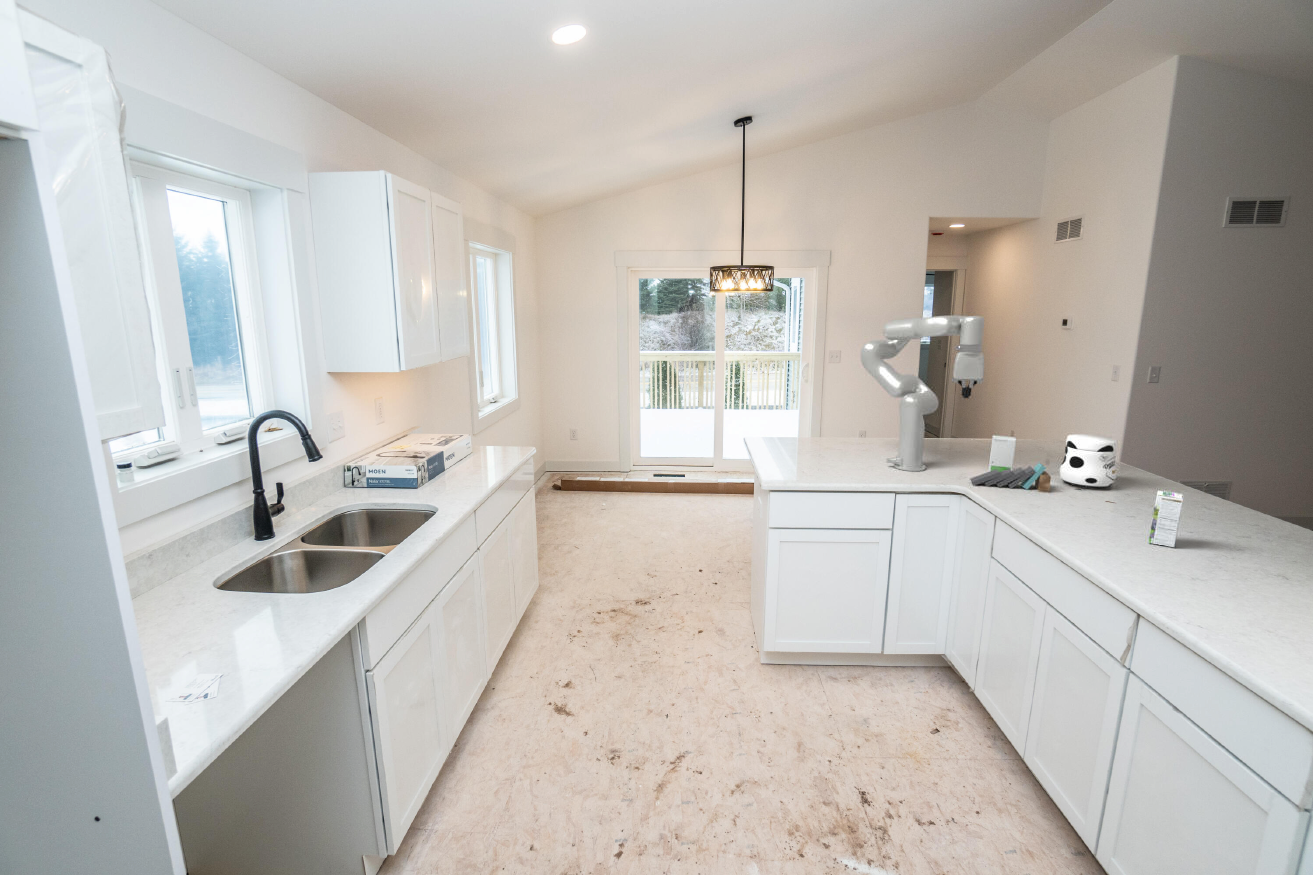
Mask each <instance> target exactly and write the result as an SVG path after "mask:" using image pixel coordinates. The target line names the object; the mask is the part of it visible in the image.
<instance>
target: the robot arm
mask: <svg viewBox="0 0 1313 875" xmlns="http://www.w3.org/2000/svg"><path fill="white" fill-rule="evenodd" d="M984 326H985V317H984V316H980V315H965V316H964V315H960V314H959V315H939V316H938V315H937V316H929V317H928V316H927V317H912V318H902V319H895V320H894V319H893V320H889V321H887V323H885V325H883V328H882V335H883V337H885V339H875V340H870V341H868V342H866V343H864V344H863V345H862V348H861V350H860V362H861V364H862V366H863V367H864V369H865V370H866V372H867V373H868V374H870V375H871V376H872V377H873V378H874V380H876V382H878V384H879V385H880V386H881V387H882V388H883V389H884V390H885V392H887V393H888V395H889V396H891V397H892V398H895V399H899V398H901V399H900V400H899V403H898V410H899V412H898V413H899V436H898V439H899V440H898V450H897V451H898V453H897V455H895V457H893V458H892V457H891V458H890V457H887V458H886V459H885V463H886V464H890V463H891V464H893V468H895V469H897V470H900V471H906V472H907V471H908V472H922V471H925V470H926V468H927V466H926V465H925V464H923V456H924V454H923V453H924V443H925V430H926V428H925V424H926V423H925V420H924V415H930V414H932V413H934V412H935V411H936V410H938V407H939V399H938V397H937V395H936V393H935V392H933V391H932V390H931V388H930V387H928V386H927V385H926V383H925V382H924V381H923V380H922V379H920V377H918V376H916V375H913V374H911V373H910V374H901V373H899V371H897V370H896V369H895V368H894V366H892V365H891V364H890V363H888V362H886V361H885V360H891V359H893V358H895V357H896V356H898V355H899V353H900V352H902V350H903V349H904V348H905V347H906V346H907V345H908V344H909V342H910V341H911V340H921V339H923V338H929V337H931V338H932V337H947V336H960V337H959V344H958V345H955V346H954V350H955V351H958V352H957V353H956V355H955V359H954V363H953V371H952V379H951V382H953V383H955V384H959V386H960V387H961V397H963V399H969V398H970V397H971V396H972V388H973V387H974V386H976V385H977V384H982V383H984V374H985V354H984V353H982V349H983V336H984ZM966 381H968V385H966Z"/></svg>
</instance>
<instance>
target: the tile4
mask: <svg viewBox="0 0 1313 875" xmlns="http://www.w3.org/2000/svg"><path fill="white" fill-rule="evenodd" d="M1033 469H1034V467H1032V466H1031V465H1029V466H1028V467H1026V468H1024V469H1022V470H1023V471H1024V472H1025V475H1023V476H1021V477H1019V478H1017V479H1015V480H1013V481H1011V482H1009V483H1007V484H1006V485H1007V486H1008V487H1009V488H1010V489H1013V488H1014V487H1016V486H1017V485H1019V484H1021V482H1022V481H1024V480H1025V479H1027V478H1028V477H1030V476H1031V475H1033V474H1035V473H1036V472H1035V471H1034V470H1033Z"/></svg>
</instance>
